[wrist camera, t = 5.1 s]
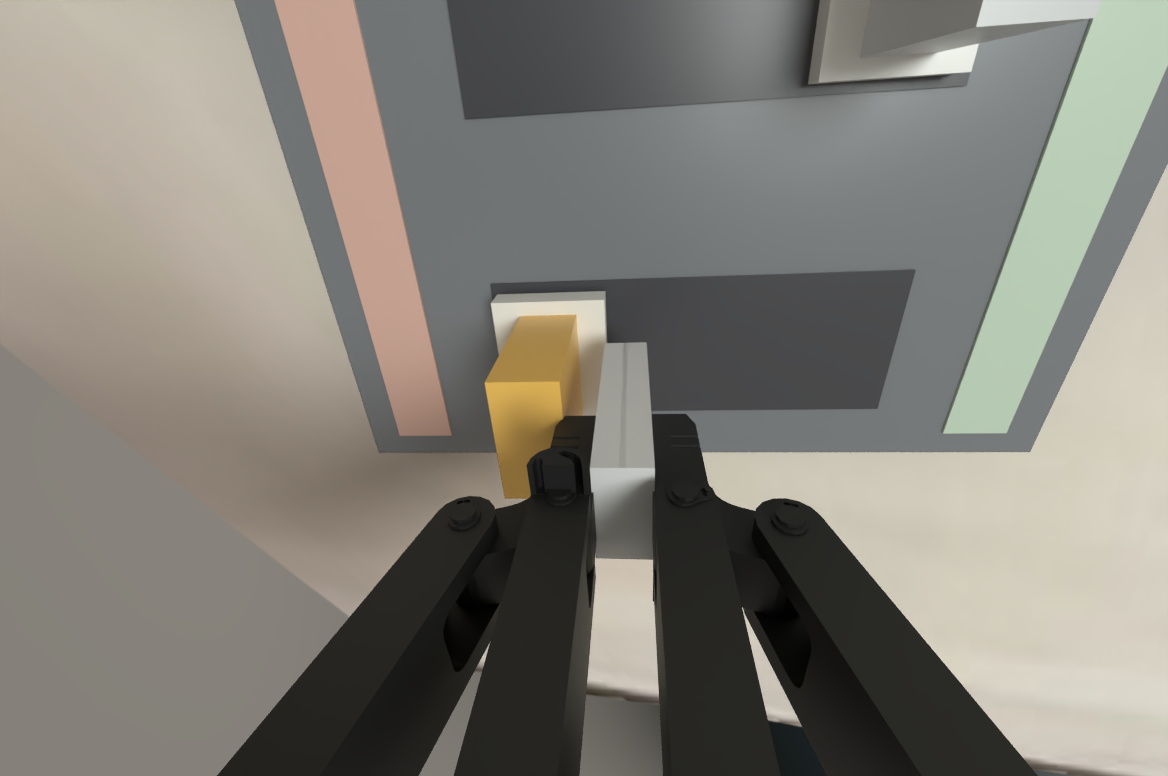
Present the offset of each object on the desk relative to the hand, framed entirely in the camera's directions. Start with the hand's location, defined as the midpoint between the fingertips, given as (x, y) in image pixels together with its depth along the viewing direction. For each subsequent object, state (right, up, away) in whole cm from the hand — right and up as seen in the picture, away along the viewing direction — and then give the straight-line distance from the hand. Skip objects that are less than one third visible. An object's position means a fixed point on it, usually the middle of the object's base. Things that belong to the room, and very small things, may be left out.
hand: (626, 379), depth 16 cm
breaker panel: (+3, +7, +2) cm, 8 cm away
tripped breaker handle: (-3, +1, +3) cm, 4 cm away
